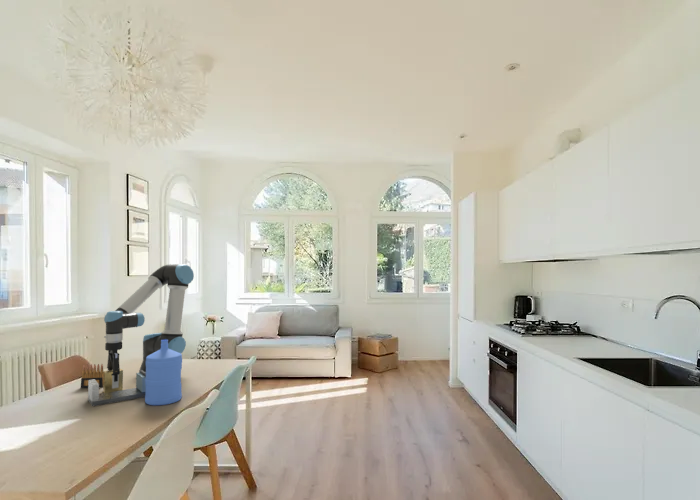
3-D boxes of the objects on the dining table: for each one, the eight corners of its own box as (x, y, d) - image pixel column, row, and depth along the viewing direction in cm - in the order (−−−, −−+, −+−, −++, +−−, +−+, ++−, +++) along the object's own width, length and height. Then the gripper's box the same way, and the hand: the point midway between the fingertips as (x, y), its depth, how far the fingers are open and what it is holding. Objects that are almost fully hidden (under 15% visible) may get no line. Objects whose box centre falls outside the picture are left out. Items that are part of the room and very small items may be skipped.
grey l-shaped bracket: (147, 389, 211) (148, 371, 212) (154, 395, 202) (154, 375, 202) (88, 400, 195) (88, 380, 195) (92, 406, 185) (92, 385, 186)
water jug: (168, 407, 184) (169, 343, 185) (137, 405, 187) (138, 342, 189) (188, 396, 199) (189, 337, 201) (159, 394, 203) (160, 337, 204)
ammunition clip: (104, 386, 218) (104, 363, 219) (102, 387, 216) (103, 364, 217) (82, 387, 217) (82, 364, 217) (80, 388, 215) (81, 364, 215)
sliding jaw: (144, 385, 210) (145, 368, 211) (151, 390, 201) (151, 373, 201) (136, 387, 208) (136, 370, 208) (142, 392, 199) (142, 374, 199)
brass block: (120, 388, 214) (121, 368, 215) (122, 390, 211) (122, 370, 211) (103, 391, 209) (103, 371, 209) (104, 393, 206) (104, 372, 206)
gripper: (101, 339, 218) (100, 381, 217) (109, 345, 200) (108, 391, 199) (117, 338, 223) (116, 379, 222) (127, 343, 205) (126, 389, 203)
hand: (112, 385), depth 210 cm, fingers open, 11 cm apart
